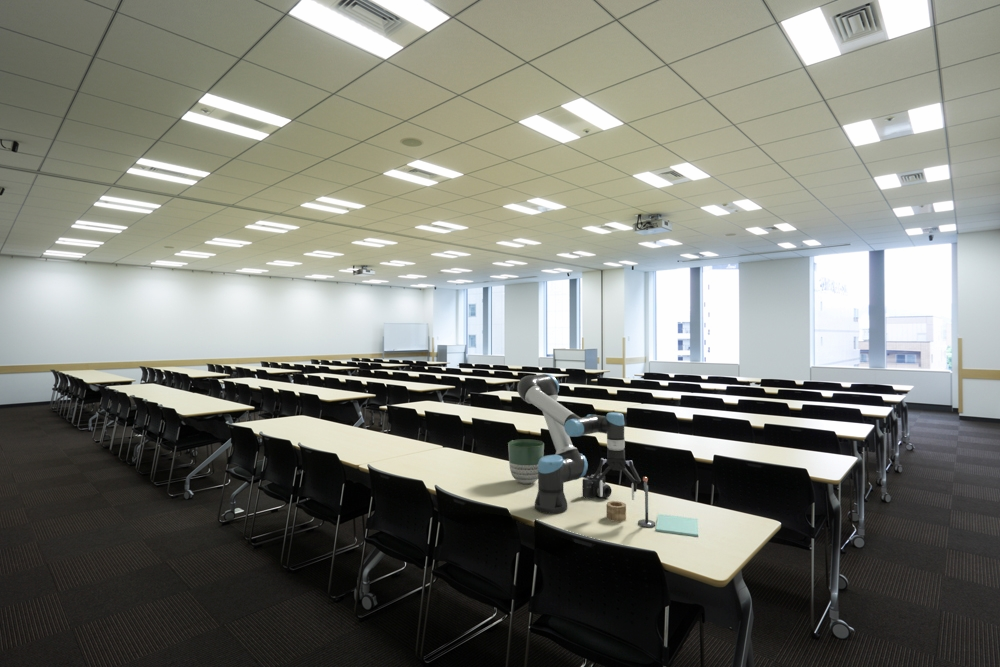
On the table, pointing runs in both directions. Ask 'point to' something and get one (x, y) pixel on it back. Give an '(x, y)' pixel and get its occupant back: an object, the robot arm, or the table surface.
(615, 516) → the ring
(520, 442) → the planter
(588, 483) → the camera
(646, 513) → the wire post
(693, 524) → the board
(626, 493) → the table surface
